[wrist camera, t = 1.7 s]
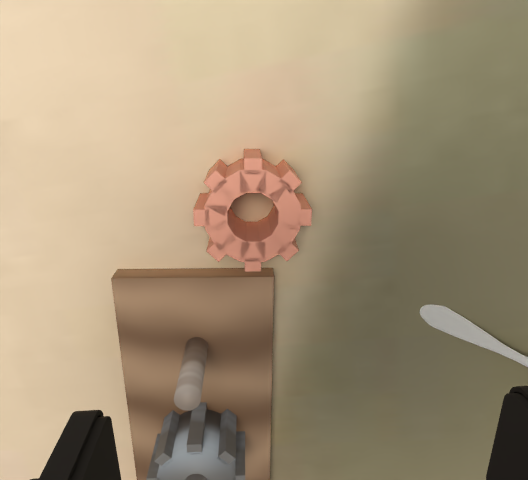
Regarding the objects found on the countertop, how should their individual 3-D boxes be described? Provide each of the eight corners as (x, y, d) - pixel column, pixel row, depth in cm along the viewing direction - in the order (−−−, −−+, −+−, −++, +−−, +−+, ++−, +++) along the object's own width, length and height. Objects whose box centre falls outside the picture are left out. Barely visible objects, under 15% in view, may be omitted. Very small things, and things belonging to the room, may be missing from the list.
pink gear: (198, 148, 26) (190, 158, 23) (304, 149, 27) (314, 158, 23) (202, 248, 29) (196, 272, 25) (300, 247, 29) (308, 270, 25)
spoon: (575, 404, 36) (590, 418, 34) (378, 315, 32) (384, 326, 30) (607, 368, 35) (625, 381, 33) (407, 271, 31) (416, 280, 29)
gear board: (117, 269, 29) (77, 326, 22) (272, 267, 30) (281, 323, 23) (145, 495, 37) (121, 591, 30) (268, 491, 37) (273, 584, 30)
